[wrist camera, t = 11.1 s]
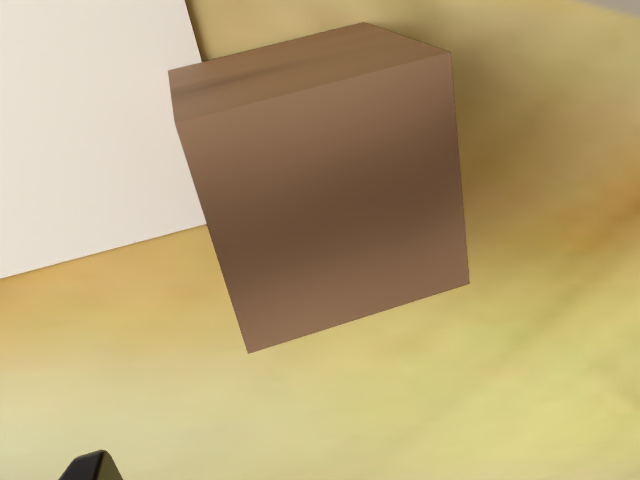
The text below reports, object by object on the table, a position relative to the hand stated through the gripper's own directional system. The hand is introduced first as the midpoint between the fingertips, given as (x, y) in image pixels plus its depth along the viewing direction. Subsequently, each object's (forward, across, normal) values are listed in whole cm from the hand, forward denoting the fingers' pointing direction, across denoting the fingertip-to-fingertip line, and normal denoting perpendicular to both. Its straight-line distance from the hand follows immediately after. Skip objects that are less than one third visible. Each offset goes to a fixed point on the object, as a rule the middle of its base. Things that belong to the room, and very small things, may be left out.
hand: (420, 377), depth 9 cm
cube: (+12, 0, 0) cm, 12 cm away
